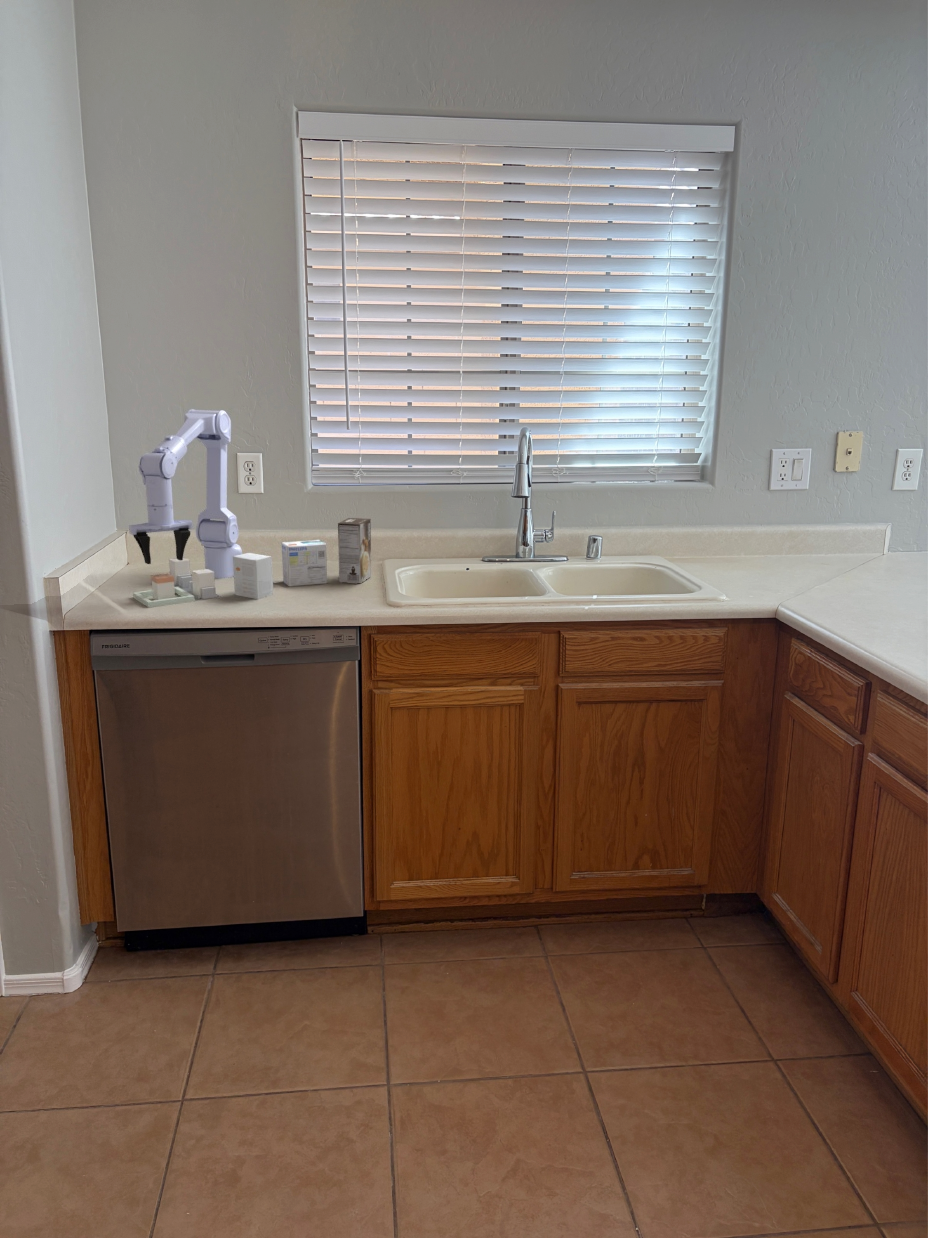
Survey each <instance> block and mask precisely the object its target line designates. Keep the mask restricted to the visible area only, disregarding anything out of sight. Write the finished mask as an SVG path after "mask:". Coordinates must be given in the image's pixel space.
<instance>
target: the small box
mask: <svg viewBox="0 0 928 1238" xmlns="http://www.w3.org/2000/svg"><path fill="white" fill-rule="evenodd" d="M272 562H273V558H272V556H270V555H265V554H264V555H263V554H257V553H254V552H246V553H242V554H241V555H236V556H233V571H234V577H233V581H234V582H233V583H234V584H233V585H234V595H235V596H240V597H245V598H249V599H255V600H261V599H265V598H267V597H271V596H274V581H273V578H274V576H273V575H274V574H273V563H272Z"/></svg>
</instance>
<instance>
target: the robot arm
mask: <svg viewBox="0 0 928 1238" xmlns="http://www.w3.org/2000/svg"><path fill="white" fill-rule="evenodd" d="M231 436H232V421H231V418H230V415H228V413H227V412H226V411H225V410H223V409H221V410H206V409H205V410H203V409H194V408H190V409H189V410H187V412H186V413H185V414H184V417H183V423H182V425H181V426H180V428H179V429H178V430H177V432H176V433H175V434H171V435H169V434H168V435H166V436H164V439H163V440H162V441H161V442H160V443H159V444H158V445H157V446H156V447H155V448H154V449H153V450H152V452H146V453H144V454H143V455H142V456H141V457H140V459H139V464H138V471H139V474H140V475H141V477H142V483H143V485H144V486H145V494H146V505H147V506H146V507H147V520H148V522H145V523H138V524H131V525H128V529H129V530H128V531H129V534H130V535H132V536H133V538H134V539H135V541H136V543H137V545H138V546H139V549H140V550H141V553H142V557H143V559H144V563H145V564H146V565H151V564H152V563H151V562H152V558H151V557H152V556H151V551H150V550H151V549H150V548H151V536H150V535H149V534H150V533H159V532H171V531H173V536H174V542H175V555H176V558H177V559H178V560H183V557H184V552H185V548H186V546H187V543H188V541H189V538H190V537H191V530H193V529H194V525H193V524H194V522H193V520H190V519H186V520H184V519H183V520H174V518H175V517H174V505H173V503H174V502H173V489H172V477H174V476H175V473H176V470H177V466H178V463H179V462H180V460H181V459H183V457H184V456H185V455H186V454H187V452H188V447H187V446H188V445H189V444H190V443H191V442H193V441H194V440H195V439H196V441H199V442H201V443H202V444H203V445H204V447H206V508H205V509H204V510H203V511H202V512H200V513H199V514H198V515H197V523H196V527H195V536H196V538H197V540H198V542H199V543H201V546H202V547H203V554H204V569H209V570H211V571H213V572H214V578H215V580H216V579H217V580H218V579H227V578H232V577H233V578H234V571H233V556H236V555H241V554H243V551H242V547H241V546H240V545H239V544H238V543H237V541H238V540H239V535H240V533H239V532H240V531H239V526H238V517H237V516H236V515H235V514H234V513H233V512H232V511H231V510H229V509H228V508H227V507H228V505H227V504H228V499H227V498H228V497H227V495H228V491H227V490H228V486H227V485H228V444H230V443H231V438H232V437H231ZM148 533H149V534H148Z"/></svg>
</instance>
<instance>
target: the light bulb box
mask: <svg viewBox="0 0 928 1238" xmlns="http://www.w3.org/2000/svg"><path fill="white" fill-rule="evenodd" d="M281 557H282V558H281V560H282V561H281V564H282V582H283V583H284V584H285V585H287V586H288V587H299V586H309V585H319V584H320V585H323V584H327V583H328V572H327V571H328V570H327V569H328V565H327V563H328V562H327V560H328V559H327V543H326V542H323V541H322V540H320V539H314V540H298V541H297V540H296V541H283V542H281Z"/></svg>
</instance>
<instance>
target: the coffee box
mask: <svg viewBox="0 0 928 1238" xmlns="http://www.w3.org/2000/svg"><path fill="white" fill-rule="evenodd" d="M337 530H338V532H337V533H338V534H337V536H338V538H337V539H338V541H337V542H338V543H337V544H338V548H337V549H338V579H339V580H338V581H339V583H342V582H349V583H348V584H357V583H361V584H363V583H364V582H365V581H366V579H367V580H368V579H370V578H371V577H372V534H371V533H372V532H371V530H372V529H371V518H363V517H362V518H359V517H348V518H346V519H344V520H341V521H340V522H338V523H337ZM362 582H363V583H362Z"/></svg>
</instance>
